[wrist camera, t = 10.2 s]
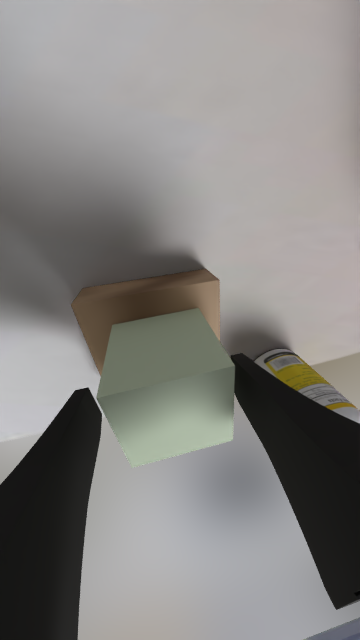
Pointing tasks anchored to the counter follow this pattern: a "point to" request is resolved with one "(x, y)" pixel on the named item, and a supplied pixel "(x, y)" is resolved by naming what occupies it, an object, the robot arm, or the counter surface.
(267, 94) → the counter surface
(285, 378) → the supplement bottle
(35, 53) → the counter surface
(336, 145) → the counter surface
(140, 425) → the sage cube
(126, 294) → the walnut block
